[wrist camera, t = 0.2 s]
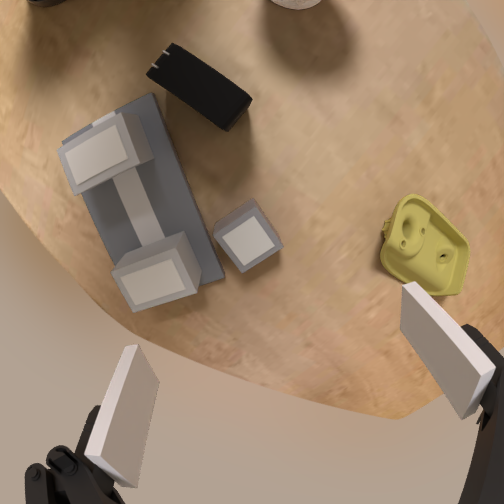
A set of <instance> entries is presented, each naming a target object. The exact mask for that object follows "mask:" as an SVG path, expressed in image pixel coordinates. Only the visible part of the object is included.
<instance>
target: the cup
mask: <svg viewBox="0 0 504 504" xmlns="http://www.w3.org/2000/svg"><path fill="white" fill-rule="evenodd" d="M271 1H272V2H274V3H276V4H278V5H280V6H282V7H285V8H290V9H296V10H300V9H306V8H310V7H312V6H314V5H316V4H318V3H319V2H320V1H321V0H271Z"/></svg>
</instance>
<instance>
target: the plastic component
mask: <svg viewBox="0 0 504 504" xmlns="http://www.w3.org/2000/svg"><path fill="white" fill-rule="evenodd" d="M382 231H384V234H385V236H384V238H385V239H386V240H385V242H384V244H383V246H382V249H381V252H380V259H381V262H382V265H383V266H384V268H385V269H386V270H387V271H388V272H389V273H390V274H392V275H393V276H394V277H396V278H397V279H399V280H401V281H402V282H404V283H405V284H408V283H411V282H414V281H415V282H416V283H417V284H418V285H419V286H420V287H422V288H423V289H424V290H425V291H426V292H427V293H428V294H429V295H430V296H452V295H458V294H459V293H460V292H461V291H462V288H463V284H464V280H465V276H466V272H467V267H468V263H469V258H470V246H469V242H468V240H467V239H466V238H465V237H464V236H463V234H462V233H461V232H460V231H459V230H458V229H457V228H456V227H455V226H454V225H453V224H452V223H451V222H450V221H449V220H448V219H447V218H446V217H445V216H444V215H443V214H442V213H441V212H440V211H439V210H438V209H437V208H436V207H435V206H433V205H432V204H431V203H430V202H429V201H428V200H426V199H425V198H424V197H422V196H420V195H417V194H410V195H407V196H405V197H403V198H402V199H401V200H400V201H399V202H398V204H397V205H396V207H395V209H394V212H393V215H392V218H391V219H389V220H385V225H384V228H382ZM401 243H402V244H401ZM443 254H444V256H443V257H440V256H441V255H443Z"/></svg>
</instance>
